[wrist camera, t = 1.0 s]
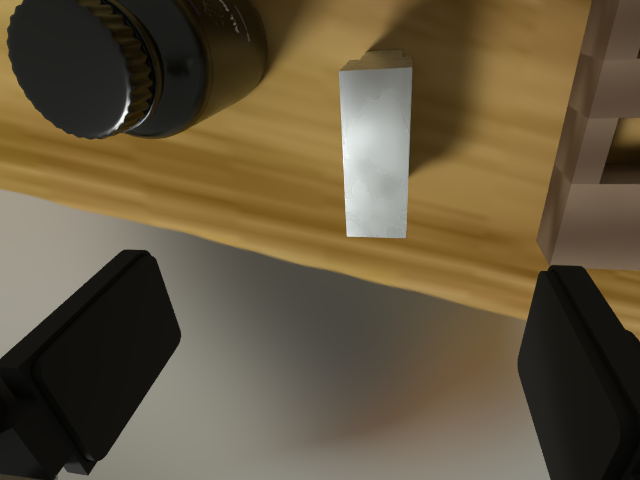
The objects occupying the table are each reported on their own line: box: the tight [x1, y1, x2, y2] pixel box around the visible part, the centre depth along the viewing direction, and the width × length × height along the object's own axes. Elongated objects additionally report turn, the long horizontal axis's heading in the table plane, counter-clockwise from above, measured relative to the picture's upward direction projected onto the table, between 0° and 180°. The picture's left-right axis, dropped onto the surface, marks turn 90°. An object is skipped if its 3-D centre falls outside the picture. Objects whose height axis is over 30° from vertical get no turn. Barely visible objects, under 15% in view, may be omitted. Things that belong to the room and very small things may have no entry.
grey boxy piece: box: [339, 49, 412, 238], centre depth 21 cm, size 8×3×7 cm, turn 5°
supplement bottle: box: [7, 0, 267, 140], centre depth 19 cm, size 7×7×12 cm
